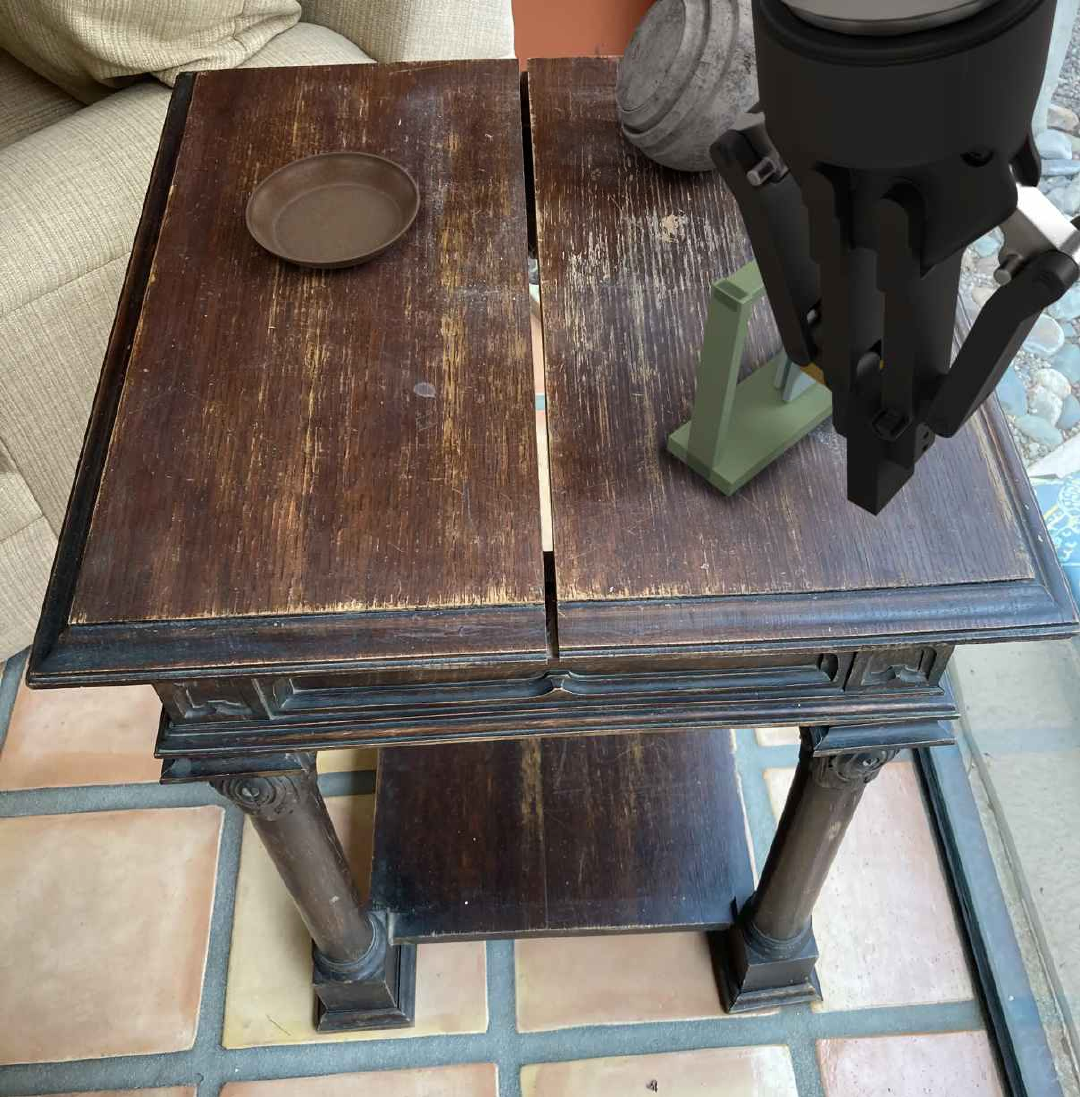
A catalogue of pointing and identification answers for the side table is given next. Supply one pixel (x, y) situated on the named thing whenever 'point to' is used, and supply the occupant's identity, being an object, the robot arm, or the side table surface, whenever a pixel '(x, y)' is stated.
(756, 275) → the window frame
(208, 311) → the side table surface
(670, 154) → the decorative orb
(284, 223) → the saucer
